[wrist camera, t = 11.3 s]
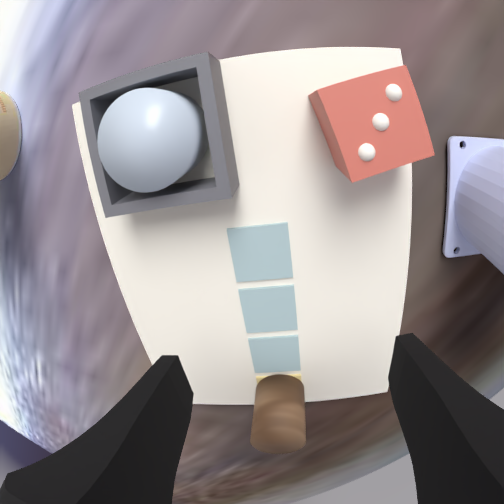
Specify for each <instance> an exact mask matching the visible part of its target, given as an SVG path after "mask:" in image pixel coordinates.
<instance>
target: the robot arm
mask: <svg viewBox="0 0 504 504" xmlns="http://www.w3.org/2000/svg"><path fill="white" fill-rule="evenodd" d="M461 141H462V142H463V146H462V148H460V142H461ZM447 152H448V178H447V205H446V220H445V232H444V242H443V254H444V255H445V256H446V257H447V258H452V257H460V256H467V255H475V254H483V255H484V256H485V257H486V258H487V259H488V260H489V261H490V262H491V263H492V264H493V265H494V266H496V267H497V268H498V269H499V270H500V271H501V272H502V273H503V274H504V139H493V138H480V137H464V136H451V137H450V138H449V139H448V142H447ZM456 247H457V250H456V251H454V249H455V248H456ZM388 381H389V386H390V391H391V395H392V400H393V404H394V407H395V410H396V413H397V416H398V419H399V422H400V425H401V428H402V431H403V434H404V437H405V440H406V443H407V446H408V449H409V452H410V456H411V460H412V464H413V470H414V476H415V482H416V489H417V499H418V504H504V409H502V408H500V407H499V406H497V405H496V404H494V403H493V402H491V401H490V400H489V399H487V398H486V397H484V396H483V395H482V394H480V393H479V392H478V391H476V390H475V389H474V388H473V387H471V386H470V385H469V384H468V383H466V382H465V381H464V380H463V379H462V378H460V377H459V376H458V375H457V374H456V373H455V372H454V371H452V370H451V369H450V368H449V367H448V366H447V365H446V364H445V363H444V362H443V361H442V360H440V359H439V358H438V357H437V356H436V355H435V354H434V353H433V352H432V351H431V350H430V349H429V348H428V347H427V346H426V345H425V344H424V343H423V342H422V341H420V340H419V339H418V338H417V337H416V336H415V335H414V334H413V333H410V334H404V335H399V336H396V337H395V343H394V349H393V354H392V360H391V365H390V370H389V374H388ZM193 396H194V393H193V391H192V388H191V386H190V384H189V381H188V379H187V376H186V374H185V372H184V369H183V367H182V364H181V362H180V359H179V356H178V355H161V357H160V358H159V359H158V360H157V361H156V362H155V363H154V364H153V365H152V366H151V368H150V369H149V370H148V371H147V372H146V373H145V374H144V375H143V377H142V378H141V379H140V380H139V381H138V382H137V383H136V384H135V385H134V386H133V387H132V389H131V390H130V391H129V392H128V393H127V394H126V395H125V396H124V397H123V398H122V399H121V400H120V401H119V402H118V403H117V404H116V405H115V406H114V407H113V408H112V409H111V410H110V411H109V412H108V413H107V414H106V415H105V416H104V417H103V418H102V419H100V420H99V421H98V422H97V423H96V424H95V425H93V426H92V427H91V428H90V429H88V430H87V431H86V432H85V433H83V434H82V435H81V436H79V437H78V438H77V439H75V440H74V441H72V442H71V443H69V444H68V445H66V446H65V447H63V448H61V449H60V450H58V451H57V452H55V453H53V454H51V455H50V456H48V457H46V458H44V459H42V460H40V461H38V462H36V463H34V464H32V465H29V466H27V467H24V468H21V469H19V470H16V471H14V472H11V473H8V474H7V476H6V478H5V480H4V482H3V484H2V487H1V488H0V504H172V496H173V488H174V481H175V476H176V471H177V467H178V464H179V460H180V456H181V452H182V449H183V445H184V442H185V438H186V434H187V430H188V427H189V423H190V419H191V412H192V404H193Z"/></svg>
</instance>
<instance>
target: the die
mask: <svg viewBox="0 0 504 504" xmlns="http://www.w3.org/2000/svg"><path fill="white" fill-rule="evenodd" d="M308 97H309V99H310V102H311V104H312V107H313V109H314V111H315V114H316V116H317V119H318V121H319V124H320V126H321V129H322V131H323V134H324V136H325V139H326V141H327V144H328V147H329V149H330V152H331V155H332V157H333V160H334V163H335V166H336V167H337V168H338V169H339V170H340V171H341V172H342V173H343V174H344V175H345V176H346V177H347V178H348V179H349V180H350V181H351V182H352V183H353V182H356V181H359V180H362V179H365V178H368V177H371V176H374V175H376V174H379V173H382V172H385V171H388V170H391V169H394V168H397V167H400V166H403V165H406V164H409V163H412V162H415V161H418V160H421V159H424V158H427V157H430V156H434V155H435V154H434V150H433V147H432V143H431V139H430V135H429V132H428V128H427V125H426V122H425V118H424V115H423V112H422V109H421V106H420V103H419V100H418V97H417V94H416V91H415V88H414V85H413V83H412V80H411V77H410V75H409V72H408V70H407V67H406V65H403V66H398V67H394V68H390V69H386V70H382V71H378V72H374V73H371V74H367V75H363V76H360V77H356V78H353V79H349V80H346V81H343V82H339V83H336V84H333V85H330V86H327V87H324V88H321V89H318V90H316V91H314V92H313V93H311V94H310V95H308Z"/></svg>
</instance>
